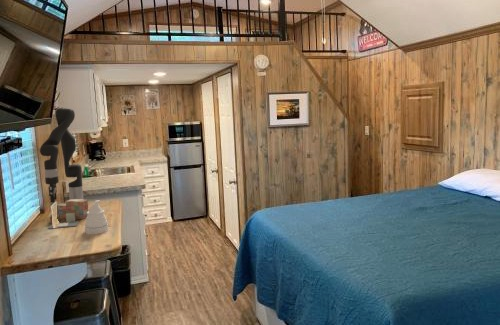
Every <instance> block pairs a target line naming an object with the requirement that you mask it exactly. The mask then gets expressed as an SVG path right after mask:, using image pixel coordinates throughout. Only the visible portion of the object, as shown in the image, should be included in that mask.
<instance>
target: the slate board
mask: <svg viewBox="0 0 500 325" xmlns="http://www.w3.org/2000/svg"><path fill="white" fill-rule="evenodd" d="M78 224H79V221H78V220H75V221H74V222H66V221H65V222H60V223H59V225H58V226H57V227H58V228H57V229H62V228H71V227H74V228H75V227H78ZM52 228H53V226H52V224H51V223H50V226H48V230H53V229H52Z"/></svg>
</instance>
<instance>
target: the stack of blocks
mask: <svg viewBox="0 0 500 325" xmlns="http://www.w3.org/2000/svg"><path fill="white" fill-rule="evenodd" d="M88 202H89V200H88V199H84V198H83V199H70V198H69V199H68V200H66V201H65V203H63V202H62V203H61V202H60V203H56V204H57V214H60V220H62V219H64V220H66V213H73V212H75V220H86V217H87V215H88V214H87V212H88V211H89V203H88Z"/></svg>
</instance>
